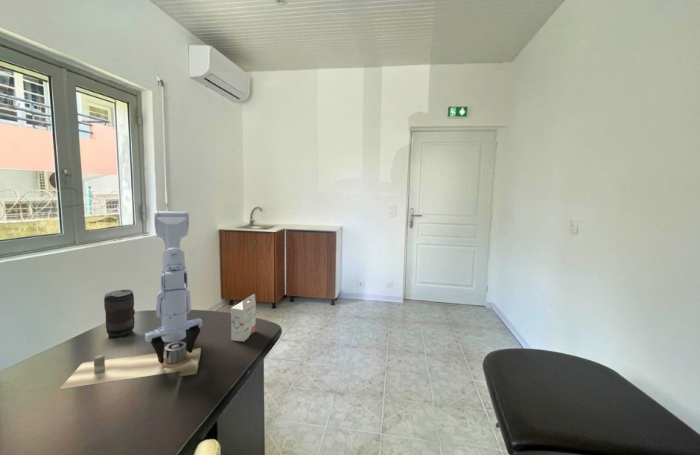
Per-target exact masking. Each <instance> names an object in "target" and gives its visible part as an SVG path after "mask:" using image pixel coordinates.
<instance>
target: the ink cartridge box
mask: <svg viewBox="0 0 700 455" xmlns="http://www.w3.org/2000/svg"><path fill="white" fill-rule="evenodd" d="M256 306H257V303H256V294H255V293H253V294H252V295H250V296H248V297H246V298H245V299H243V300H241V302H239V303H238V304H235V305H234V306H231V308H230V326H231V328H230V329H231V330H230V331H231V333H230V334H231V335H230V336H231V339H230V340H231V341H234V342H235V341H236V342H241V341H242V343H243V342H246V340H248V338H250V337H251V336H252V335H253V334H254V333H255V332H256V320H257V316H256V315H257V314H256V313H257V311H256V310H257V309H256V308H257V307H256ZM253 332H254V333H253ZM252 333H253V334H252ZM251 334H252V335H251ZM250 335H251V336H250ZM249 336H250V337H249Z"/></svg>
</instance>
